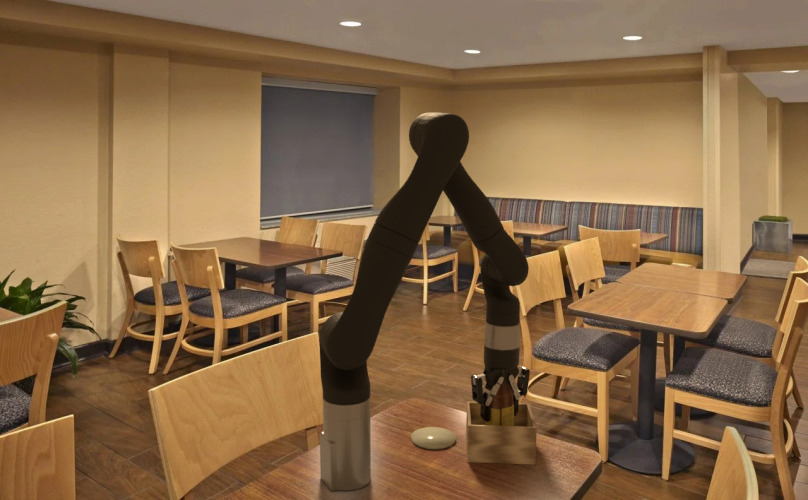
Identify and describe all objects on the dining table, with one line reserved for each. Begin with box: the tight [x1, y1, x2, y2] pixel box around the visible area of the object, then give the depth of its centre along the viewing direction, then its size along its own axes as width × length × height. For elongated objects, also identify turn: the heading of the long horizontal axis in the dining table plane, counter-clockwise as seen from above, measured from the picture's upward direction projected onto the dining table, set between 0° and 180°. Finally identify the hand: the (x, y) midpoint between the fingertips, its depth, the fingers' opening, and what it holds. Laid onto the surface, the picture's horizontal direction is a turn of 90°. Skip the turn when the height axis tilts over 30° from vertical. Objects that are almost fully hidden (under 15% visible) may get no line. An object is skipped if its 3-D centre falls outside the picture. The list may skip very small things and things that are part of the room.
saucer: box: [410, 426, 457, 450], centre depth 146 cm, size 10×10×1 cm
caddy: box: [465, 400, 538, 465], centre depth 140 cm, size 14×13×8 cm
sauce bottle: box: [485, 369, 514, 426], centre depth 140 cm, size 7×6×20 cm
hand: (499, 417), depth 140 cm, fingers closed on sauce bottle, 6 cm apart
